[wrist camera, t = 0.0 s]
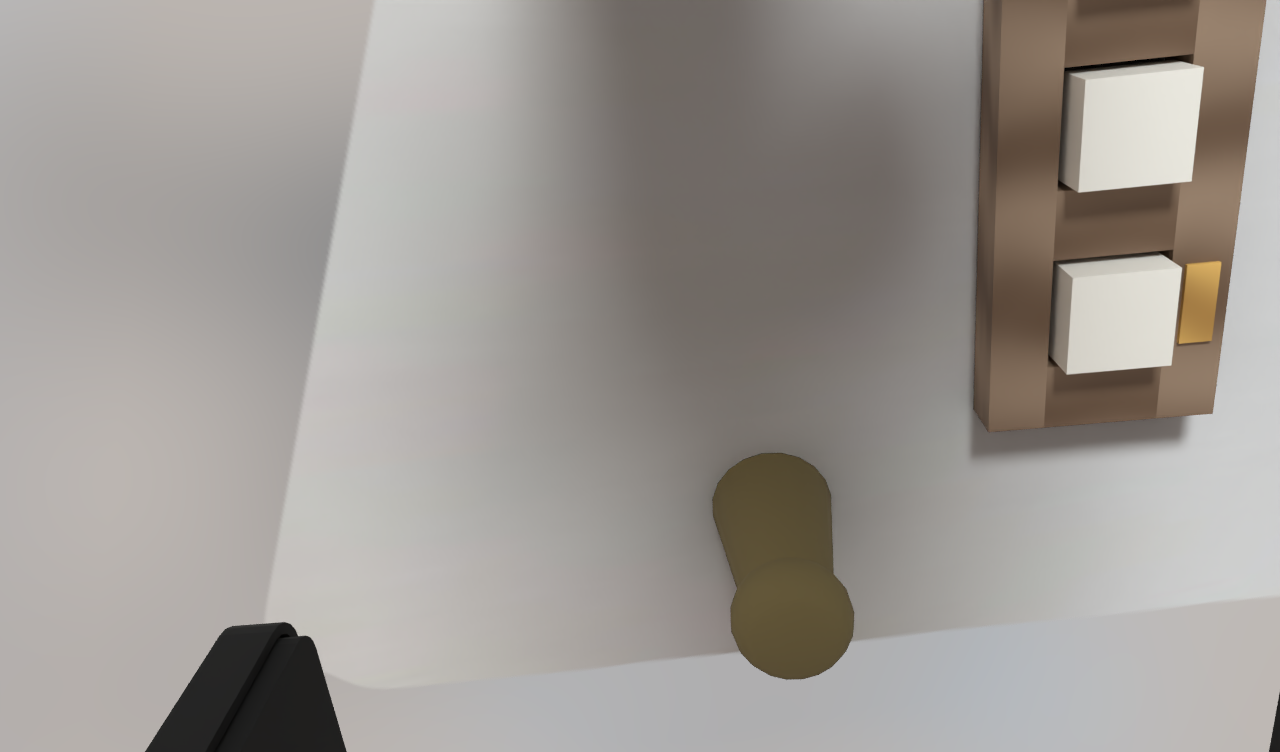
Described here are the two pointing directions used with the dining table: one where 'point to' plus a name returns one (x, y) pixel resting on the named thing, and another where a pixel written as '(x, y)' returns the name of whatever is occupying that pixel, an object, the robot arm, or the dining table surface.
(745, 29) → the dining table surface
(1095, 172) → the middle button
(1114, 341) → the outer button
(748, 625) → the cork
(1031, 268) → the button board
